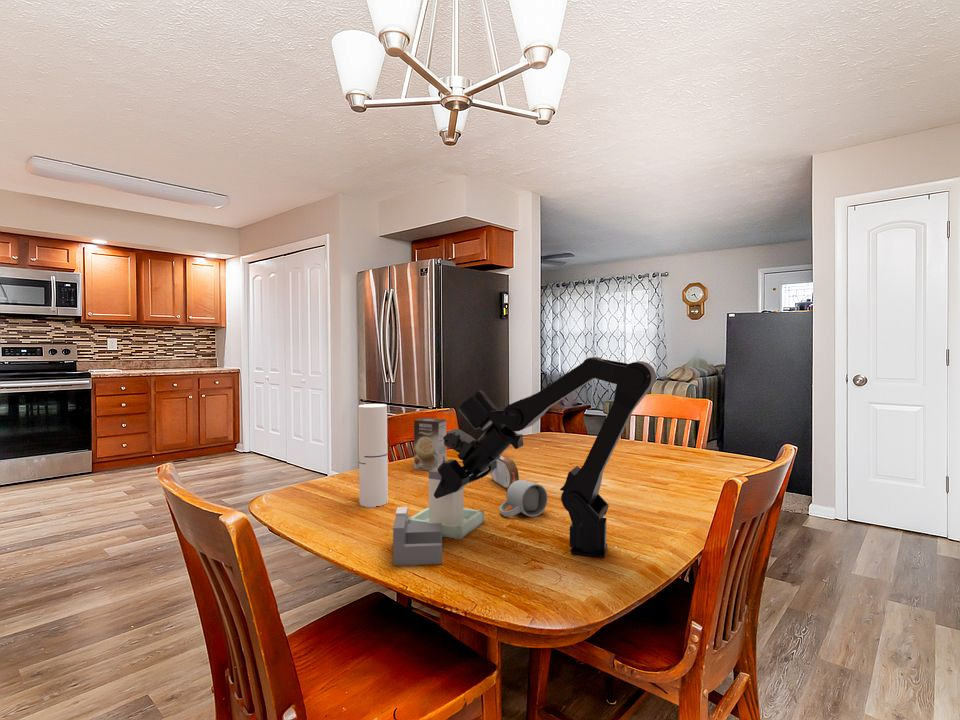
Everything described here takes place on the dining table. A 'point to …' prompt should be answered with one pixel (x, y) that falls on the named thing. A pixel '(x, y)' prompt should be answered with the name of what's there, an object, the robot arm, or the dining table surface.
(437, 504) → the block
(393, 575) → the dining table surface
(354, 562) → the dining table surface
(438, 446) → the coffee box
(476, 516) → the tray
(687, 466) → the dining table surface
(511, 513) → the ceramic mug
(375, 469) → the cylindrical container
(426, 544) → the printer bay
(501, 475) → the tin
